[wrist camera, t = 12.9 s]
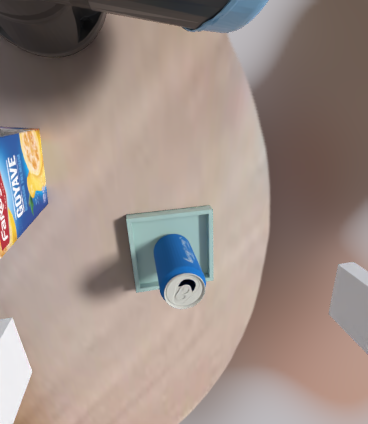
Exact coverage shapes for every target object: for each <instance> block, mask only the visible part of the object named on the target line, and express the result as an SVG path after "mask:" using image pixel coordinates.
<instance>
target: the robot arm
mask: <svg viewBox="0 0 368 424" xmlns="http://www.w3.org/2000/svg"><path fill="white" fill-rule="evenodd" d="M268 1H269V0H0V35H1V36H2V37H4V38H5V39H6V40H8V41H9V42H11V43H13V44H14V45H16V46H18V47H20V48H22V49H24V50H26V51H28V52H30V53H33V54H36V55H40V56H45V57H63V56H68V55H71V54H74V53H77V52H79V51H80V50H82V49H84V48H85V47H86V46H88V45H89V44H90V43H91V42H92V41H93V40H94V39H95V37H96V36H97V34H98V33H99V31H100V29H101V27H102V25H103V23H104V20H105V17H106V13H110V14H116V15H121V16H127V17H132V18H138V19H143V20H148V21H154V22H159V23H165V24H170V25H175V26H181V27H182V28H183V29H185V30H187V31H190V32H195V31H198V32H199V31H202V30H204V31H211V32H219V33H228V32H232V31H236V30H238V29H240V28H242V27H244V26H245V25H246V24H248V23H249V22H250V21H251V20H252V19H253V18H254V17H255V16H256V15H257V14H258V13H259V12H260V11H261V10H262V9H263V7H264V6H265V5H266V3H267V2H268ZM329 315H330V316H331V317H332V318H333V319H334V320H335V321H336V322H337V323H338V324H339V325H340V326H341V327H342V328H343V329H344V330H345V332H346V333H347V334H348V335H349V336H350V337H351V338H352V339H353V340H354V341H355V342H356V343H357V344H358V345H359V346H360V347H361V348H362V349H363V350H364V351H365V352H366V353H367V354H368V271H366V270H365V269H363V268H362V267H360V266H359V265H357V264H356V263H355V262H350V263H344V264H338V269H337V274H336V279H335V284H334V289H333V294H332V299H331V304H330V309H329ZM31 374H32V370H31V367H30V364H29V362H28V359H27V356H26V353H25V351H24V348H23V345H22V343H21V340H20V337H19V335H18V332H17V329H16V326H15V324H14V321H13V318H6V319H0V424H13V422H14V420H15V417H16V414H17V412H18V409H19V406H20V403H21V401H22V398H23V395H24V393H25V390H26V387H27V384H28V382H29V379H30V376H31Z"/></svg>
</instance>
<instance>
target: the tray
mask: <svg viewBox="0 0 368 424" xmlns="http://www.w3.org/2000/svg"><path fill="white" fill-rule="evenodd" d="M126 222H127V229H128V236H129V243H130V250H131V258H132V265H133V272H134V279H135V286H136V293H137V292H144V291H150V290H156V289H160V288H159V283H158V277H157V271H156V265H155V259H154V247H155V244H156V243H157V241H158V240H159V239H160V238H162V237H163V236H165V235H168V234H179V235H182V236H184V237H185V238H186V239H187V240H188V241H189V243H190V245H191V247H192V250H193V252H194V254H195V256H196V258H197V261H198V263H199V265H200V267H201V270H202V272H203V274H204V276H205V279H206V281H212V280H213V209H212V208H211V206H210V205H207V206H198V207H190V208H181V209H172V210H163V211H154V212H145V213H136V214H128V215H126Z"/></svg>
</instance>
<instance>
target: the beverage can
mask: <svg viewBox="0 0 368 424" xmlns="http://www.w3.org/2000/svg"><path fill="white" fill-rule="evenodd" d="M154 259H155V265H156V271H157V277H158V283H159V288H160V293H161V295H162V297H163V299H164V300H165V301H166V302H167V303H168V304H169V305H170V306H171V307H173V308H177V309H187V308H190V307H193V306H195V305H196V304H197V303H199V302H200V301H201V299H202V298H203V296H204V294H205V287H206V279H205V276H204V274H203V272H202V270H201V267H200V265H199V263H198V261H197V258H196V256H195V254H194V252H193V250H192V247H191V245H190V243H189V241H188V240H187V239H186V238H185V237H184V236H182V235H179V234H168V235H165V236H163V237H162V238H160V239H159V240H158V241H157V243H156V244H155V247H154Z"/></svg>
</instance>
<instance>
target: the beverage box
mask: <svg viewBox="0 0 368 424" xmlns="http://www.w3.org/2000/svg"><path fill="white" fill-rule="evenodd" d="M47 204H48V198H47V189H46V181H45V172H44V164H43V155H42V147H41V139H40V130H39V129H32V128H13V127H0V259H1V258H2V256H3V255H4V254H5V253H6V252H7V251H8V249H9V248H10V247H11V246H12V245H13V244H14V242H15V241H16V240H17V239H18V238H19V237H20V235H21V234H22V233H23V232H24V231H25V230H26V229H27V227H28V226H29V225H30V224H31V223H32V222H33V220H34V219H35V218H36V217H37V216H38V215H39V213H40V212H41V211H42V210H43V209H44V208H45V206H46V205H47Z"/></svg>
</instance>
